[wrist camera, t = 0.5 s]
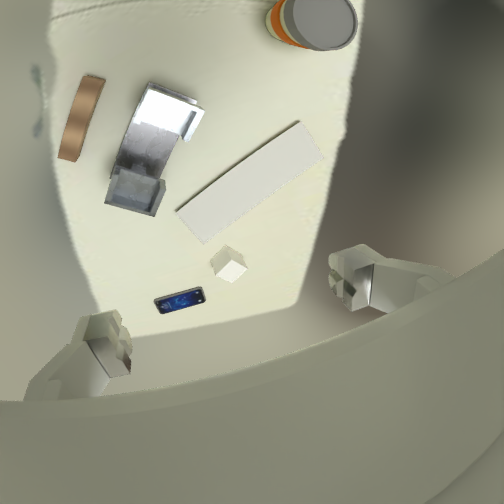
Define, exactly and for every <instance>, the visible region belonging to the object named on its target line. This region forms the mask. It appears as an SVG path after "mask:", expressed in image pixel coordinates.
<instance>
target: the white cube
mask: <svg viewBox="0 0 504 504" xmlns="http://www.w3.org/2000/svg"><path fill="white" fill-rule="evenodd" d="M211 263H212V266H213V269H214V272H215V275H216V276H218V277H220V278H222V279H224V280H226V281H228V282H230V283H233V282H234V281H235V280H236V279H237V278H238V277H239V276H240V275H242V274H243V273H244V272H245V271H246V270H247V269H248V268H247V266H246V264H245V262H244V260H243V257H242V255H241V254H240V253H238V252H237V251H235V250H233V249H232V248H230V247H228V246H227V245H225V246H224V247H223V248H222V249H221V250H220V251H219V252H218V253H217V254H216V255H215V256H214V257H213V258H212V259H211Z"/></svg>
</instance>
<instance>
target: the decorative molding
mask: <svg viewBox="0 0 504 504" xmlns="http://www.w3.org/2000/svg"><path fill="white" fill-rule="evenodd" d="M323 158H324V157H323V155H322V153H321V152H320V150H319V148H318V147H317V145H316V144H315V142H314V140H313V139H312V137H311V135H310V134H309V132H308V131H307V129H306V128H305V126H304V124H303V123H302V121H301V122H299V123H297V124H296V125H294V126H293V127H291V128H290V129H288V130H287V131H285V132H284V133H282V134H281V135H279V136H278V137H276V138H275V139H273V140H272V141H270V142H269V143H268V144H266V145H265V146H263V147H262V148H260V149H259V150H258V151H256V152H255V153H253V154H252V155H250V156H249V157H248V158H246V159H245V160H244V161H242V162H241V163H239V164H238V165H237V166H235V167H234V168H233V169H231V170H230V171H229V172H227V173H226V174H224V175H223V176H222V177H221V178H219V179H218V180H217V181H215V182H214V183H213V184H211V185H210V186H209V187H207V188H206V189H205V190H204V191H202V192H201V193H200V194H199V195H197V196H196V197H195V198H193V199H192V200H191V201H190V202H188V203H187V204H186V205H185V206H184V207H182V208H181V209H180V210H179V211H177V212H176V213H175V214H176V215H177V216H178V217H179V218H180V219H181V220H182V222H183V223H184V224H185V225H186V226H187V227H188V228H189V229H190V230H191V231H192V232H193V234H194V235H195V236H196V237H197V238H198V239H199V240H200V241H201V242H202V243H203V244H205V243H206V242H208V241H209V240H210V239H212V238H213V237H214V236H216V235H217V234H218V233H220V232H221V231H222V230H224V229H225V228H226V227H228V226H229V225H230V224H232V223H233V222H234V221H236V220H237V219H238V218H240V217H241V216H242V215H244V214H245V213H247V212H248V211H249V210H251V209H252V208H253V207H255V206H256V205H258V204H259V203H260V202H262V201H263V200H264V199H266V198H267V197H269V196H270V195H271V194H273V193H274V192H276V191H277V190H278V189H280V188H281V187H283V186H284V185H285V184H287V183H288V182H290V181H291V180H293V179H294V178H295V177H297V176H298V175H300V174H301V173H303V172H304V171H305V170H307V169H308V168H310V167H311V166H313V165H314V164H316V163H317V162H318V161H320V160H321V159H323Z"/></svg>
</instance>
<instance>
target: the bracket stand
mask: <svg viewBox="0 0 504 504" xmlns="http://www.w3.org/2000/svg"><path fill="white" fill-rule="evenodd" d="M196 103H197V100H195V99H193V98H190V97H188V96H185V95H183V94H180V93H178V92H175V91H173V90H170V89H168V88H165V87H162V86H160V85H157V84H154V83H152V82H149V84H148V86H147V88H146V90H145V92H144V94H143V96H142V98H141V100H140V102H139V104H138V106H137V109H136V111H135V113H134V115H133V118H132V120H131V122H130V125H129V127H128V130H127V132H126V134H125V137H124V139H123V142H122V145H121V147H120V150H119V153H118V155H117V158H116V161H115V164H114V167H113V169H112V172H111V175H110V179H111V181H110V185H109V188H108V191H107V194H106V198H105V202H104V203H105V204H109V205H112V206H116V207H120V208H123V209H127V210H131V211H134V212H138V213H142V214H145V215H149V216H153V217H155V214H156V212H157V210H158V207H159V205H160V203H161V200H162V198H163V196H164V193H165V191H166V186H165V180H163V179H159V178H160V176H161V174H162V171H163V169H164V167H165V165H166V162H167V160H168V158H169V156H170V154H171V152H172V150H173V147H174V145H175V143H176V141H177V139H178V137H179V135H181V136H182V139H183V140H184V141H186V142H189V141H190V139H191V137H192V135H193V133H194V131H195V129H196V127H197V125H198V123H199V121H200V120H201V118H202V116H203V114H204V112H205V111H204V110H203V109H202V108H201V107H200V106H197V105H195V104H196Z"/></svg>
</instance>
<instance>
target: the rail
mask: <svg viewBox="0 0 504 504" xmlns="http://www.w3.org/2000/svg"><path fill="white" fill-rule="evenodd" d="M105 82H106V80H104V79H100V78H96V77H93V76H89V75H87V76H83V78H82V81H81V83H80V86H79V88H78V91H77V94H76V96H75V99H74V102H73V105H72V108H71V111H70V114H69V117H68V121H67V124H66V127H65V131H64V134H63V138H62V142H61V146H60V150H59V154H58V158H60V159H64V160H68V161H72V162H76V161H77V159H78V157H79V156H80V153H81V149H82V146H83V142H84V139H85V136H86V133H87V129H88V126H89V123H90V120H91V118H92V115H93V112H94V109H95V107H96V104H97V101H98V99H99V96H100V94H101V91H102V89H103V86H104V84H105Z"/></svg>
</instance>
